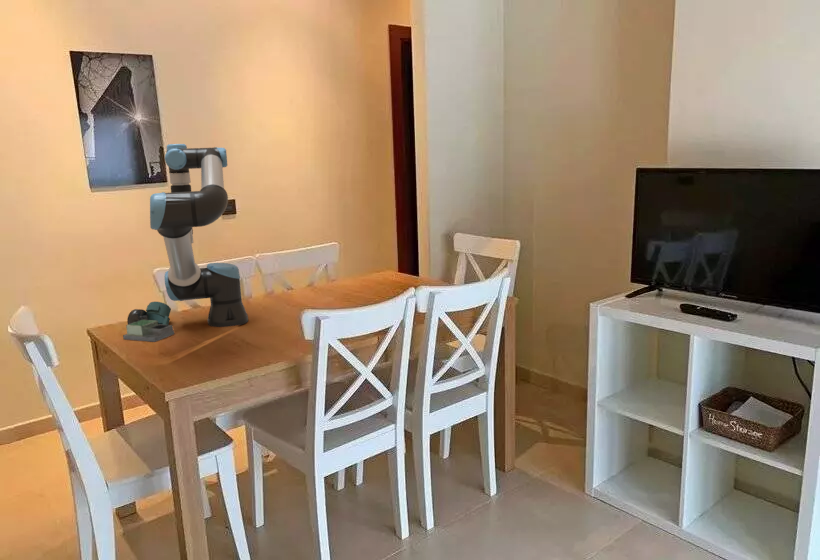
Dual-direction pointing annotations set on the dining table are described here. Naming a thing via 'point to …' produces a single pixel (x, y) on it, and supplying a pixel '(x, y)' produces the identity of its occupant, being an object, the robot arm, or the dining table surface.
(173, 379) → the dining table surface
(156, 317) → the dark teal rounded block
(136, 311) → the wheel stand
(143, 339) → the grey base plate
